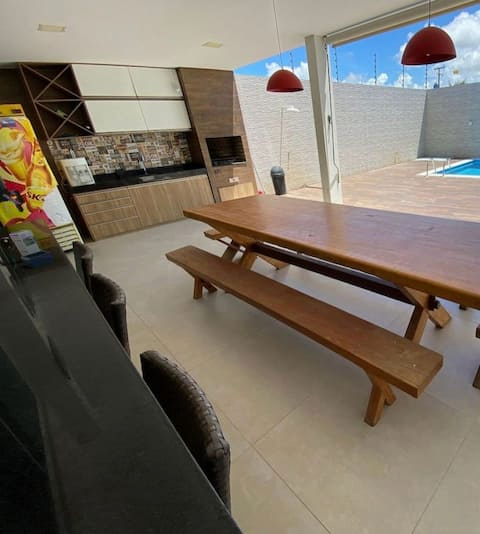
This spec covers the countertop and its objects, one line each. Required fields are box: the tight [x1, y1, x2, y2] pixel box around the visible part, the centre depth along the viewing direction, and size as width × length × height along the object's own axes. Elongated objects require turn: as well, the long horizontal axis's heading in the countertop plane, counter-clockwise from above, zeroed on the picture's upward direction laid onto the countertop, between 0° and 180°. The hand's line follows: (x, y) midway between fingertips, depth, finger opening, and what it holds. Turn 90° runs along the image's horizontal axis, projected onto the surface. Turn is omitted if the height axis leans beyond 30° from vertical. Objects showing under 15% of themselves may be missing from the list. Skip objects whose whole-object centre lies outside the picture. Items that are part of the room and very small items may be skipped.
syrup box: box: [9, 229, 44, 257], centre depth 153 cm, size 6×6×14 cm
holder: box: [20, 250, 55, 269], centre depth 148 cm, size 8×8×5 cm
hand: (9, 214), depth 146 cm, fingers open, 8 cm apart
